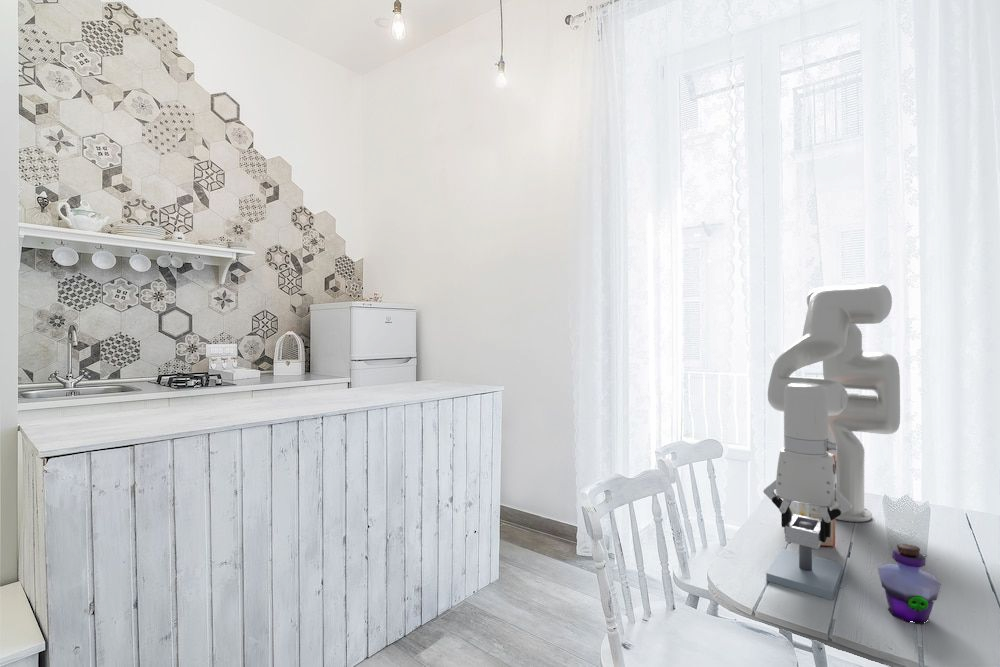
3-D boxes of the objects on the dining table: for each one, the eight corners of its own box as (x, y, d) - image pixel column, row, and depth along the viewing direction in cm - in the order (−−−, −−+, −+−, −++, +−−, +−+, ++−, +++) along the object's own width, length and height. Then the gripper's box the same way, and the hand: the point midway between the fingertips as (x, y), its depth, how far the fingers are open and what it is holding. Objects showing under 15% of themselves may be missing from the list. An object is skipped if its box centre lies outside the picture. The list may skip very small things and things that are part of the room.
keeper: (782, 555, 110) (782, 507, 110) (843, 570, 103) (843, 519, 103) (766, 580, 99) (766, 527, 99) (832, 600, 92) (832, 543, 92)
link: (793, 528, 106) (793, 513, 106) (825, 535, 102) (825, 520, 102) (785, 541, 100) (785, 526, 100) (818, 549, 96) (818, 533, 96)
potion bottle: (905, 631, 83) (906, 558, 83) (864, 602, 92) (865, 536, 91) (955, 628, 83) (956, 557, 83) (910, 600, 92) (911, 534, 92)
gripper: (860, 448, 98) (860, 540, 98) (763, 436, 109) (763, 519, 109) (855, 456, 92) (855, 554, 93) (753, 442, 103) (753, 530, 104)
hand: (805, 534), depth 101 cm, fingers closed on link, 5 cm apart
